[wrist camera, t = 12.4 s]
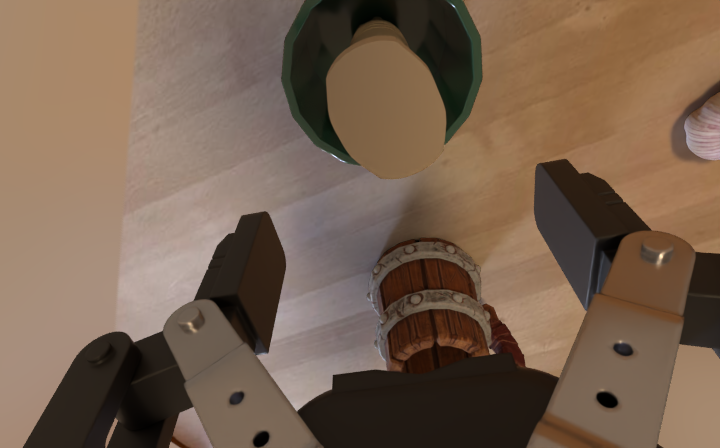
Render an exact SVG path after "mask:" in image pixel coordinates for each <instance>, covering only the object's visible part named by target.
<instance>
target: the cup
mask: <svg viewBox="0 0 720 448" xmlns="http://www.w3.org/2000/svg"><path fill="white" fill-rule="evenodd" d="M373 17H381V18H382V20H386V21H388V22H390V23H392V24H393V25H395V26H396V27H397V28H398V29H399V31H400V32H401V33H402V35H403V36H404V38H405V40H406V42H407V44H408V46H409V49H410V50H411V51H413V52H414V53H415V54H416V55H417V56H418V57H419V58H420V59H421V60H422V61H423V62H424V63H425V64H426V65H427V66H428V68H429V70H430V72H431V74H432V76H433V79H434V81H435V84H436V86H437V89H438V91H439V94H440V96H441V98H442V101H443V104H444V107H445V111H446V133H445V142H444V145H445V144H446V143H447V142H448V141H449V140H450V138H451V137H452V136H453V135H454V134H455V133H456V131H457V130H458V129H459V128H460V127H461V125H462V124H463V123H464V122H465V121H466V119H467V118H468V117H469V115H470V113H471V110H472V107H473V104H474V102H475V99H476V96H477V93H478V90H479V87H480V85H481V82H482V78H483V77H482V52H481V38H480V35H479V33H478V30H477V28H476V26H475V24H474V22H473V20H472V18H471V16H470V14H469V12H468V10H467V8H466V6H465V3H464V1H463V0H305V1H304V3H303V5H302V7H301V9H300V11H299V13H298V14H297V16H296V18H295V20H294V22H293V24H292V26H291V28H290V30H289V32H288V34H287V35H286V37H285V41H284V53H283V65H282V76H281V80H282V84H283V88H284V91H285V94H286V97H287V101H288V104H289V107H290V110H291V114H292V116H293V118H294V119H295V121H296V122H297V123H298V124H299V126H300V127H301V128H302V129H303V131H304V132H305V133H306V134H307V136H308V137H309V138H310V139H311V141H312V142H313V143H314V144H315V145H316V146H317V147H319V148H321V149H322V150H324V151H326V152H327V153H329V154H331V155H333V156H334V157H336V158H338V159H339V160H341V161H343V162H345V163H347V164H353V165H359V166H361V165H360V164H359V163H357V162H356V161H355V160H354V159H353V158H352V157H351V156H350V155H349V153H348V152H347V151H346V149H345V148H344V146H343V144H342V142H341V141H340V139H339V137H338V135H337V134H336V132H335V130H334V128H333V126H332V123H331V121H330V117H329V112H328V102H327V87H326V77H327V73H328V71H329V69H330V67H331V65H332V64H333V62H334V61H335V59H336V58H337V57H338V56H339V55H340V54H341V53H342V52H343V51H344V50H345V49H347V48H348V47H350V43H351V41H352V38H353V36H354V34H355V32H356V30H357V28H358V26H359V25H361V24H364V23H366V22H368V21H370V20H372V19H373Z"/></svg>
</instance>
